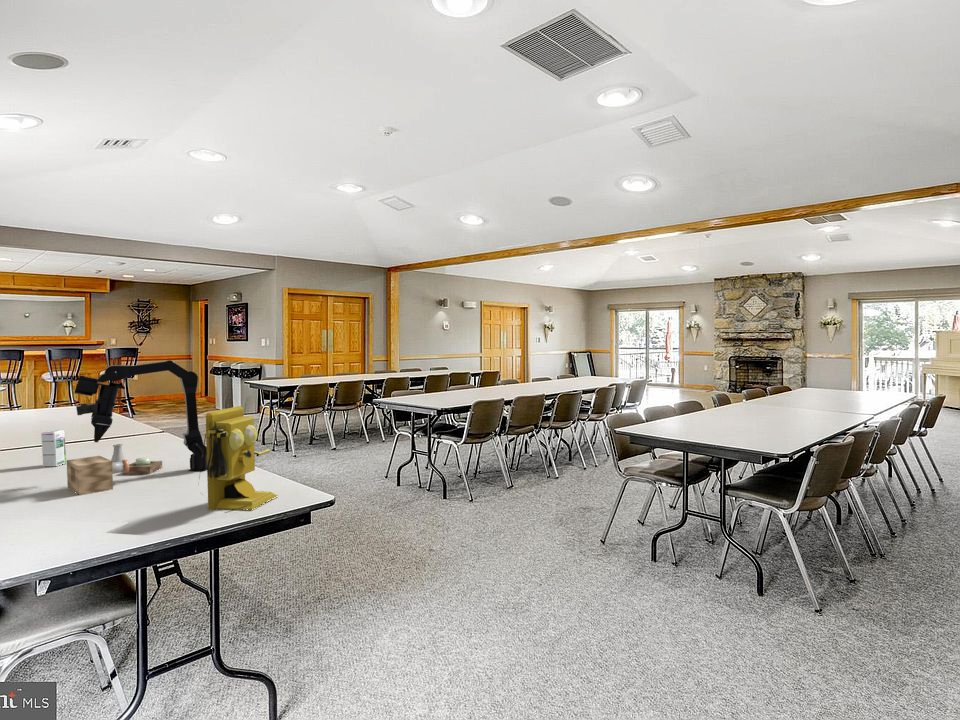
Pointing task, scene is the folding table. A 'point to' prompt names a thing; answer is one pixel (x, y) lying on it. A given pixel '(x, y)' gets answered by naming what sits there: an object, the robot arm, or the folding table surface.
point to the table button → (142, 461)
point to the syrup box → (53, 448)
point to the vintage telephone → (231, 460)
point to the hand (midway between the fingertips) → (95, 440)
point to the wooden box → (89, 474)
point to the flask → (117, 453)
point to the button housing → (144, 468)
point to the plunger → (120, 467)
